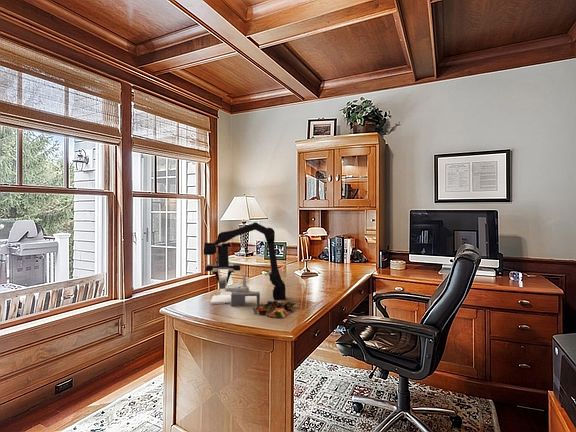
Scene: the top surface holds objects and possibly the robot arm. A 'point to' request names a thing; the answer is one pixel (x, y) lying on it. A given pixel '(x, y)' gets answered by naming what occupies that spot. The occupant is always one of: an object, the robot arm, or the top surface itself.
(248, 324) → the top surface
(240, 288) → the electronic device
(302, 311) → the top surface
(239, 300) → the grey notched block
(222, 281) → the plug
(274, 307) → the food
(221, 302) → the white mat
